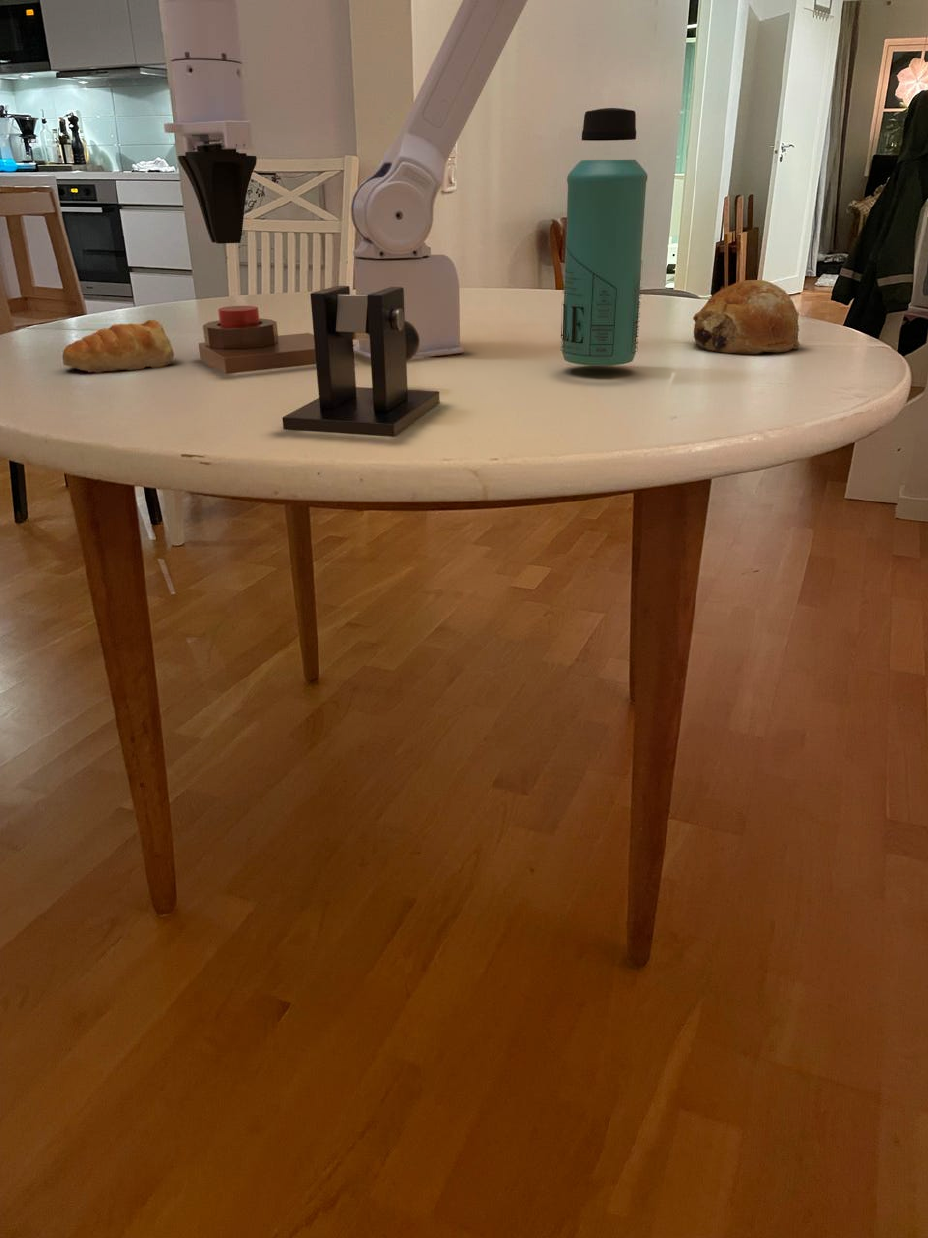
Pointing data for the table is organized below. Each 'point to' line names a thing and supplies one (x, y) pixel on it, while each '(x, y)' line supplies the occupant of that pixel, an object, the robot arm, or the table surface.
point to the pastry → (121, 348)
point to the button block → (254, 347)
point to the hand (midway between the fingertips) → (226, 242)
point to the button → (238, 316)
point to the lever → (366, 322)
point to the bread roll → (748, 320)
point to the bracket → (338, 395)
